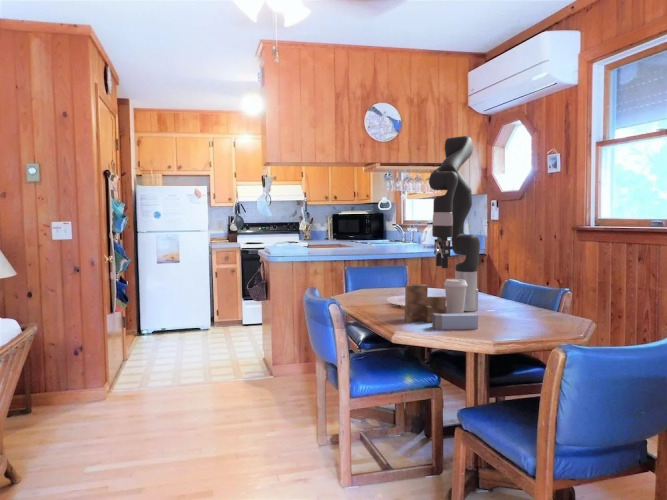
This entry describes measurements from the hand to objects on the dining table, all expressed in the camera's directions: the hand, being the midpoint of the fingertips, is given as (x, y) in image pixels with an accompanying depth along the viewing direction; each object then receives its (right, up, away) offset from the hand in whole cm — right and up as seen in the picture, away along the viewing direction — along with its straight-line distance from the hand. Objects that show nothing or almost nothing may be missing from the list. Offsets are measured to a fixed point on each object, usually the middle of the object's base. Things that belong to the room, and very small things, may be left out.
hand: (441, 267), depth 189 cm
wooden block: (-5, -21, +8) cm, 23 cm away
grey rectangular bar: (+4, -23, -5) cm, 23 cm away
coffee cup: (+9, -21, +17) cm, 29 cm away
